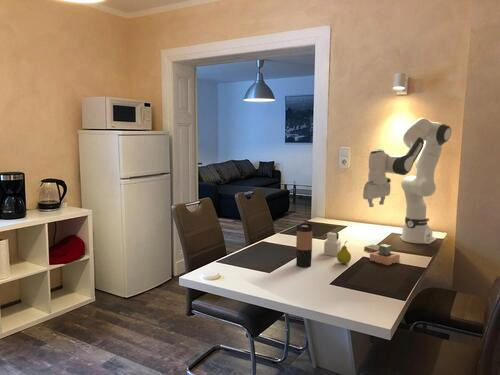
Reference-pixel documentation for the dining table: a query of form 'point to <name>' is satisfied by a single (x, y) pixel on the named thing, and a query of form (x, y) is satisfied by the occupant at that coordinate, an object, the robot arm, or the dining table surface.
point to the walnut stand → (371, 248)
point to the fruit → (343, 255)
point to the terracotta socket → (384, 258)
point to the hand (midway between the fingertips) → (376, 205)
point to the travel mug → (304, 245)
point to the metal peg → (384, 250)
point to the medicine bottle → (332, 244)
